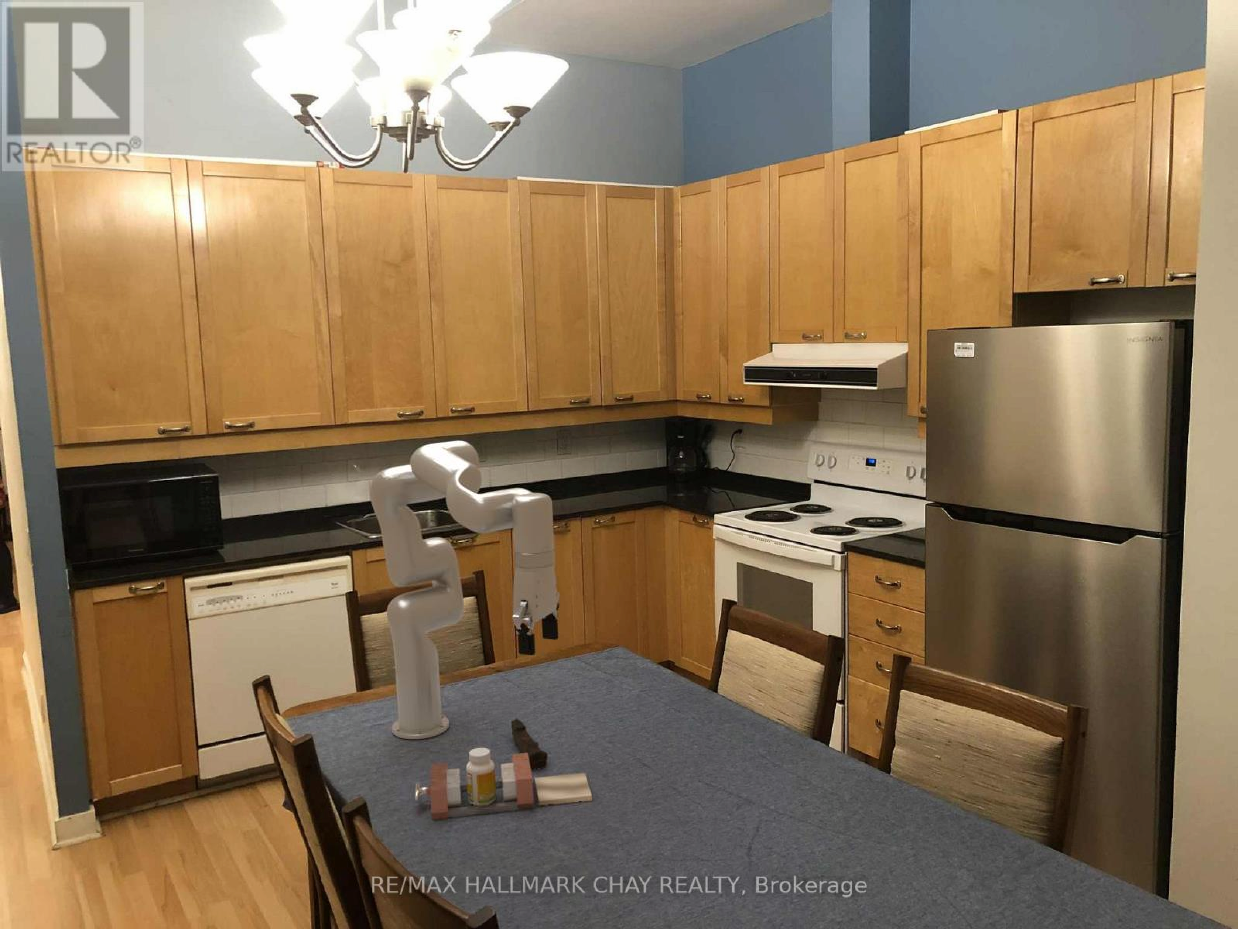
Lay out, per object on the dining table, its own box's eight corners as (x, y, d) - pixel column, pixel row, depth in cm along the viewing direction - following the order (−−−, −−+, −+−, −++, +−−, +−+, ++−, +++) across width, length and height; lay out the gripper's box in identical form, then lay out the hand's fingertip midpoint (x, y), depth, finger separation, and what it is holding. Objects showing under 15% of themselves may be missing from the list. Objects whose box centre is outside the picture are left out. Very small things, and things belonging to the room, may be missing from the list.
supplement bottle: (501, 795, 197) (498, 747, 195) (488, 808, 192) (486, 759, 190) (475, 792, 198) (473, 744, 197) (462, 804, 193) (460, 756, 192)
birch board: (534, 782, 202) (534, 778, 201) (585, 777, 203) (584, 772, 203) (539, 806, 192) (539, 801, 192) (591, 800, 193) (591, 795, 193)
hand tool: (548, 769, 208) (547, 747, 208) (529, 772, 207) (528, 750, 206) (526, 734, 226) (525, 714, 225) (508, 737, 225) (508, 717, 224)
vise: (417, 793, 199) (415, 763, 198) (528, 781, 202) (527, 752, 201) (415, 821, 187) (413, 790, 187) (533, 808, 191) (532, 778, 190)
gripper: (538, 548, 202) (542, 631, 205) (494, 568, 186) (499, 658, 189) (572, 550, 199) (576, 634, 202) (531, 571, 184) (535, 662, 186)
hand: (539, 646), depth 195 cm, fingers open, 9 cm apart
